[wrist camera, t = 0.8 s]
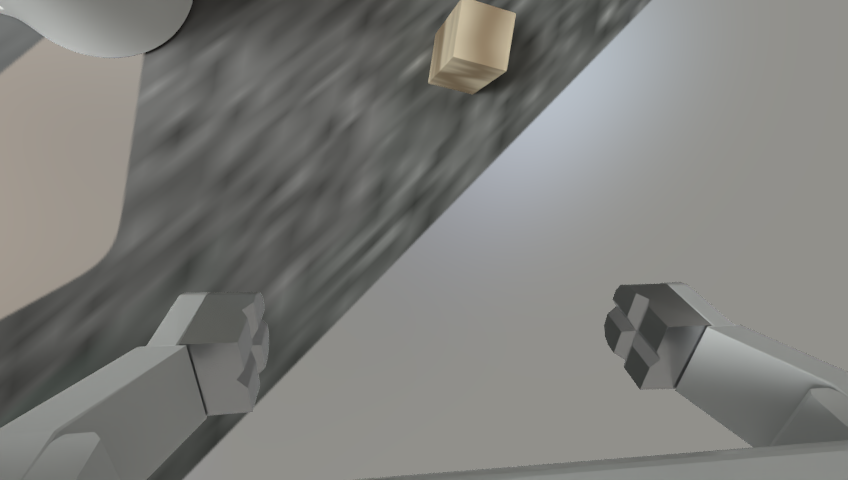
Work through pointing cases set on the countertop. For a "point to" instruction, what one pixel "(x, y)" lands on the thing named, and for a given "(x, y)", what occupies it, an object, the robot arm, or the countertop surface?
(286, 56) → the countertop surface
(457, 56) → the maple block
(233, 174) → the countertop surface
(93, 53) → the robot arm
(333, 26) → the countertop surface
